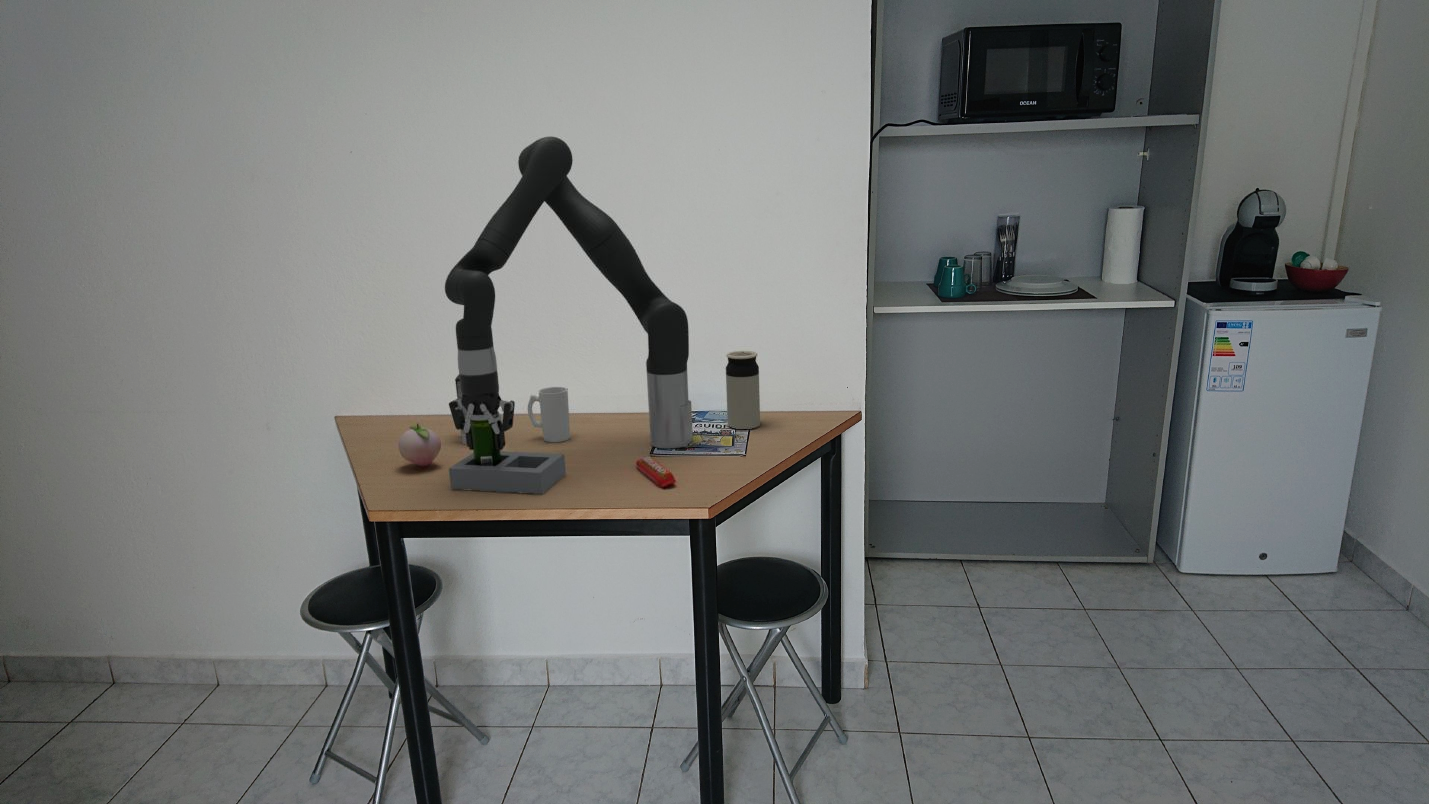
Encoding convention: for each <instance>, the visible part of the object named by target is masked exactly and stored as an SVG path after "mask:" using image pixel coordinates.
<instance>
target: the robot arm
mask: <svg viewBox="0 0 1429 804" xmlns="http://www.w3.org/2000/svg"><path fill="white" fill-rule="evenodd" d="M573 161H574V160H573V154H572V151H571V148H570V146H569V145H568V143H566V142H565V141H564V140H562V139H561V138H559V137H557V136H544V137H541V138H539V139H537V140H535V141H533V142H532V143H530V144H529V145H528V146H526V147H524V148H523V149H522V150H521V152H520V154H519V156H518V161H517V164H518V169H519V170H518V171H520V172H519V173H520V174H521V177H520V180H518V181H519V182H518V183H517V184H516V186H515V188H514V189H513V190H512V192H511V193H510V194H509V196H508V197H507V198H506V199H505V201H504V202H503V203H502V204H501V206H499V208H498V209H497V210H496V212H495V213H494V214H493V215H492V217H490V219H489V220H488V222H487V223H486V225H485V227H484V229H483V230H482V232H481V233H480V235H479V237H478V238H477V239H476V241H475V243H474V245H473V246H472V248H470V250H468V252H467V253H465V254H464V256H463V257H462V258H461V259H460V260H459V261H458V262H457V263H456V264H455V265H454V266H453V267H452V269H451V270H450V271H449V273H448V275H447V276H446V279H445V284H444V293H445V295H446V298H447V299H448V300H449V301H450V302H451V303H454V304H456V305H459V306H463V317H462V318H461V319H459V320H458V321H457V322H456V324H455V336H456V337H455V338H456V346H457V368H458V369H457V370H458V375H459V377H460V386H461V392H462V399H460V400H458V399H457V398H456V399H453V400H452V401H450V402H448V407H449V410H450V413H451V417H452V419H453V421H452V422H453V423H454V427H455V429H456V430H459V431H461V430H463V431H464V432H465V434H466V442H467V444H466V446H467V447H468V448H469V451H473V444H472V435H471V426H470V418H471V414H473V415H474V413H475V414H484V415H487V414H488V415H487V416H486V417H487V418H488V420H489V424H490V425H492V428H493V430H494V432H495V434H494V439H495V448H496V451H502V450H504V448H505V447H506V435H505V432H507V431H509V430H510V429H512V428H513V425H514V417H515V416H514V415H515V405H516V402H515V401H514V400H512V399H511V400H510V401H507V400H503V399H502V398H501V396H500V384H499V383H500V381H499V375H498V374H499V373H498V365H497V357H496V352H495V351H496V350H495V347H494V338H493V328H492V324H493V318H494V313H495V312H494V311H495V303H496V291H495V286H494V285H495V284H494V282H493V281H492V279H491V277H490V274H492V272H495V271H498V270H500V269H503V267H504V266H505V265H506V263H507V262H508V260H509V259H510V257H511V255H512V254H513V252H514V251H515V249H516V248H517V245H518V244H519V242H520V240H521V239H522V237H523V235H524V233H525V232H526V231H527V229H528V227H529V226H530V224H531V222H532V221H533V219H534V217H535V215H536V214H537V212H538V211H539V209H540V208H541V207H542V206H543V204H544V203H546V205H548V207H549V208H550V209H551V210H552V212H554V213H555V215H556V216H557V218H558V219H559V220H560V221H561V222H562V224H563V225H564V226H565V228H566V229H567V231H568V232H569V233H570V234H571V236H572V237H573V238H574V239H575V242H576V243H577V244H578V245H579V247H580V248H581V249H582V250H583V252H584V253H585V254H586V256H587V257H588V258H589V260H590V261H591V262H592V264H593V265H594V266H595V267H596V269H597V270H598V271H599V272H600V274H602V276H604V278H605V279H606V280H607V281H608V282H609V283H610V284H611V285H612V286H613V287H614V288H615V289H616V290H617V291H618V292H619V293H620V294H621V296H622V297H623V298H624V300H626V302H627V304H628V305H629V307H630V308H631V310H632V311H633V314H635V316H636V318H637V320H638V321H639V323H640V325H641V326H642V328H643V330H644V331H645V333H646V334H647V342H648V343H647V346H648V350H647V351H648V352H647V353H648V354H647V358H646V361H645V367H646V382H647V383H646V384H647V385H646V386H647V387H646V388H647V399H648V402H647V403H648V420H649V437H650V439H649V440H650V445H651V446H652V447H655V448H657V449H678V448H687V447H688V446H689V445H690V444H691V443H692V442H693V440H694V439H693V436H694V434H693V433H694V432H693V414H692V413H693V412H692V411H693V409H692V400H690V399H689V383H688V381H689V380H688V379H689V378H688V360H689V356H690V344H689V342H690V341H689V340H690V339H689V337H690V336H689V333H690V332H689V321H688V316H687V313H686V311H685V309H684V308H683V307H682V306H681V305H679V304H678V303H676V302H674V301H672V300H671V299H669V297H667V295H665V293H663V291H662V290H661V289H660V287H658V286H657V285H656V283H655V282H654V281H653V280H652V279H651V277H650V276H649V274H648V272H647V271H646V269H645V268H644V265H643V263H642V261H641V259H640V257H639V255H638V253H637V251H636V249H635V248H634V246H633V245H632V242H631V241H630V240H629V238H628V237H627V235H626V234H625V232H623V230H622V229H621V227H620V226H619V225H618V224H617V223H616V222H615V220H614V219H613V218H612V217H611V216H610V215H609V214H607V213H606V212H605V211H604V210H602V209H601V208H599V207H598V206H597V205H596V204H594V203H593V202H592V201H590V200H588V199H587V198H586V197H585V196H584V195H582V194H581V192H580V191H579V190H578V189H577V188H576V187H575V185H574V184H573V182H572V181H571V180H570V179H569V177H568V175H569V173H570V172H571V170H572V166H573ZM463 406H464V408H465V409H466V410H467V411H468V412H467V415H466V419H465V417H464V413H463V410H462V408H463ZM500 407H501V412H503V413H502V415H501V413H500V411H499V408H500ZM495 414H496V416H497V417H496V418H493V415H495ZM489 418H490V419H489ZM688 444H689V445H688Z"/></svg>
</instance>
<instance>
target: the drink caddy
mask: <svg viewBox="0 0 1429 804" xmlns="http://www.w3.org/2000/svg"><path fill="white" fill-rule="evenodd" d="M500 453H501V463H499V464H498V465H496V466H477V465H475V462H474V453H473V452H472V453H471V454H469V455H468V456H466V457H465V458H463V459H461V460H459V461H458V462H456V463H455V464H453V465H452V466H450V467H449V468H448V474H449V482H450V489H451V488H452V489H451V490H454V489H471V490H470V491H472V490H480V491H479V492H490V491H496V492H495V493H509V492H517V493H516V494H519V493H518V492H522V493H521V494H527V493H535V494H534V495H543V494H544V493H546V492H547V491H548V490H549V489H550V488H551V487H553V486H554V485H555V484H556V483H557V482H558V481H560V480H561V479H562V478H563V477H565V475H566V462H565V461H566V459H565V454H564V453H550V452H547V453H546V452H523V451H502V450H501V451H500ZM547 489H548V490H547ZM546 490H547V491H546ZM543 492H544V493H543Z"/></svg>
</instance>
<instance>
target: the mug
mask: <svg viewBox="0 0 1429 804" xmlns="http://www.w3.org/2000/svg"><path fill="white" fill-rule="evenodd" d="M537 393H538V395H537V394H530V398H529V401H528V403H527V413H528V417H529V419H530V421H531V423H532V426H533V427H534V428H540V429H542V434H543V435H542V436H543V440H544V441H545V442H547V443H561V442H565V441H568V440H569V439H570V438H571V428H570V410H569V408H570V407H569V394H568V393H569V392H568V388H567V387H564V386H548V387H545V388H540V389H539V390H538V392H537ZM535 402H539V408H540V409H539V410H540V418H541V421H540V420H537V419H536V417H535V415H534V413H533V405H534V403H535Z"/></svg>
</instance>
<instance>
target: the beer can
mask: <svg viewBox="0 0 1429 804" xmlns="http://www.w3.org/2000/svg"><path fill="white" fill-rule="evenodd" d="M487 415H488V414H487ZM487 415H484V414H475V413H474V415H473V414H471V418H470V426H471V435H472V444H473V450H472V451H473V452H472V453H474V462H475V465H477V466H496V465H498V464H499V463H501V453H500V451H496V448H495V439H494V434H495V432H494V430H493V428H492V425H490V424H489V420H488V418H487V417H486V416H487ZM496 417H497V416H496V414H495V415H493V418H496ZM489 419H490V418H489Z"/></svg>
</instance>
